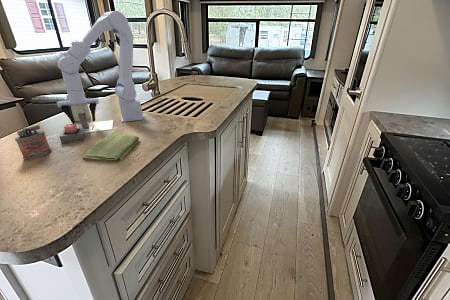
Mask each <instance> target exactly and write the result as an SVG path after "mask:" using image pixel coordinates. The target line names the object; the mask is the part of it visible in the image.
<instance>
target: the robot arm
mask: <svg viewBox="0 0 450 300" xmlns="http://www.w3.org/2000/svg"><path fill="white" fill-rule="evenodd" d="M108 31H109V32H110V31H111V32H113V33H114V35H116V37H117V38H118V39H119V60H118V62H119V67H118V68H119V69H118V71H119V72H118V74H119V75H118V79H117V80H116V86H115V87H114V94H115V95H116V96H117V97H118V105H119V111H120V114H121V117H120V119H121V120H120V121H121V123H126V122H133V121H141V120H144V117H143V115H144V113H143V110H142V105H141V100H140V98H137V91H136V89H135V86H136V85H135V82H134V81H133V62H134V61H133V60H134V59H133V58H134V33H133V31H132V29H131V27H130V24H129V20H128V18H127V17H126V16H125V14H123V13H122V12H121V11H120V10H112V11H106V12H104V13H103V14H102V15H101V16H100V17H99V18H97V20H96V21H95V22H94V23H93V24H92V26H91V28H90V29H89V30H88V32H87V33H86V34H85V35H84V37H83V38H82V39H81V40H79V39H78V40H75V41H72V42H71V43H70V45H71V46H70V47H69V48H68V50H67V51H66V52H65V51H64V52H63V53H62V55H63V56H60V57H59V59H58V60H57V65H56V66H57V68H58V69H59V70H60V71H61V74H62V79H63V83H64V86H65V89H66V93H67V95H68V97H69V100H68V99H67V100H61V101H56V104H57V107H58V108H61V109H60V110H61V111H62V112H63V113H64V114H65V115H66V116H67V117H68V119H69V120H70V122H71V124H75V123H76V121H75V119H74V117H73V114H72V110H71V106H75V105H86V104H87V105H88V108H89V112H90V115H91V119H92V121H93V122H96V107H97V105H98V104H100V101H99V100H100V99H99V97H97V98H96V97H93V98H92V97H91V98H90V97H88V98H87V97H86V94H84V93H85V91H84V87H83V83H82V80H81V77H80V76H81V75H80V74H79V70H80V65H81V64H82V63H83V62H84V61H85V60H86V58H87V57H88V56H89V55H90V53H91V51H92V50H91V46H92V45H93V44H94V43H95V42H96V41H97V40H98V39H99V37H100V36H101V35H103V33H105V32H108Z"/></svg>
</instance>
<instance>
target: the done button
mask: <svg viewBox="0 0 450 300" xmlns="http://www.w3.org/2000/svg"><path fill="white" fill-rule="evenodd" d="M76 124H77V123H76ZM76 124H75V123H74V124H72V123H70V124H69V123H68V124H65V125H63V128H64V129H63V130H65V132H66V133H67V134H72V133H76V132H77V131H78V129H77V126H76Z"/></svg>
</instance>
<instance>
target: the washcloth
mask: <svg viewBox="0 0 450 300" xmlns="http://www.w3.org/2000/svg"><path fill="white" fill-rule="evenodd" d="M139 140H140V136H138V135H122V134H118V133H117V134H116V133H113V134H112V133H108V134H107V135H106V136H105V137H104V138H103V139H101V140H100V141H99V142H98V143H96V144H95V145H93V146H92V147H91V148H90V149H88V150H87V151H86V152H85V153H84V154H83V156H82V159H83V160H86V161H90V160H91V161H92V160H93V161H123V160H124V158H126V156H127V155H128V154H129V153H130V152H131V151H132V150H133V148H135V146H137V144H138V143H139Z"/></svg>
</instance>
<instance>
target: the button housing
mask: <svg viewBox="0 0 450 300" xmlns="http://www.w3.org/2000/svg"><path fill="white" fill-rule="evenodd" d="M77 129H78V131H77V132H76V133H72V134H67V133H66V132H65V129H63V130H62V131H61V133H60V134H59V140H60V143H61V144H62V145H63V144H71V143H78V142H79V143H80V142H83V141H84V139H85V137H86V133H85V131H84V127H83V128H77Z"/></svg>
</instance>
